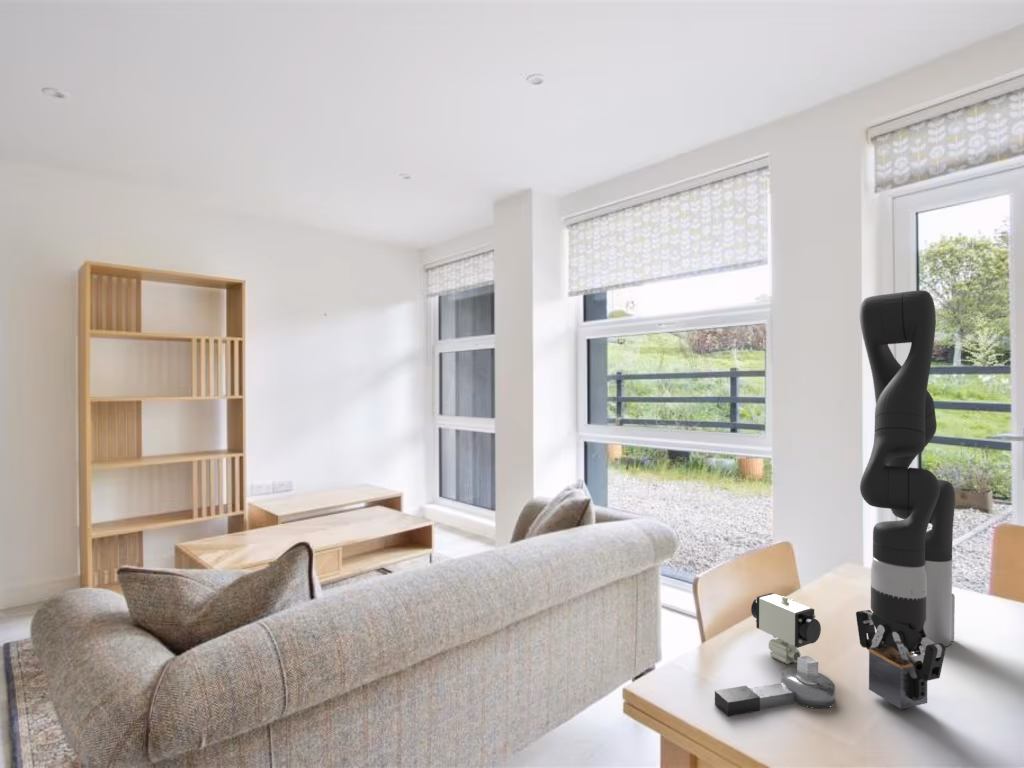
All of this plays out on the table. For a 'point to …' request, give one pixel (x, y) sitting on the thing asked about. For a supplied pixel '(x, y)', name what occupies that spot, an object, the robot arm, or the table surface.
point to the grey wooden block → (891, 677)
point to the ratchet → (781, 691)
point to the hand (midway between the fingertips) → (897, 687)
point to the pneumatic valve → (785, 625)
